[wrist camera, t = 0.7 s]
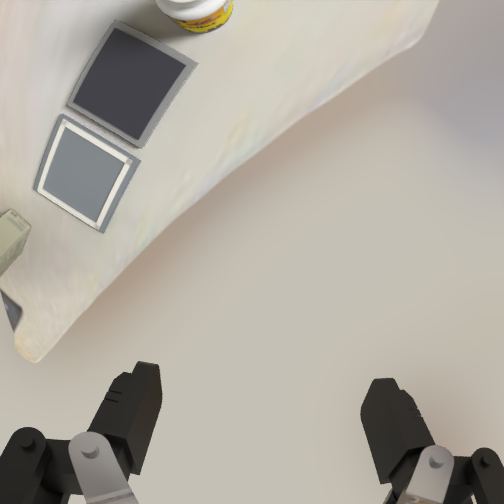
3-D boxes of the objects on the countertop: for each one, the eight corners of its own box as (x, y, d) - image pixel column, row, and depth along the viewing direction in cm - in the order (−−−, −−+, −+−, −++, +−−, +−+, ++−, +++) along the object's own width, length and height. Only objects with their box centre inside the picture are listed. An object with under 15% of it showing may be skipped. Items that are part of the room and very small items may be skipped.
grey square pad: (35, 187, 30) (32, 189, 30) (62, 113, 26) (59, 114, 25) (104, 231, 34) (102, 234, 33) (141, 160, 30) (138, 162, 29)
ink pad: (71, 103, 26) (65, 104, 25) (118, 21, 22) (113, 19, 21) (144, 146, 29) (140, 149, 28) (198, 63, 25) (196, 62, 24)
